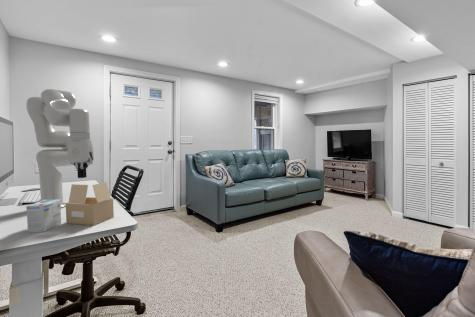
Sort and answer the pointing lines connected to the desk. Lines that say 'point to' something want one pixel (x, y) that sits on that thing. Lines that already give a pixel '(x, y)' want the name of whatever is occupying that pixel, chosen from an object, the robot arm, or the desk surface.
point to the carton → (89, 212)
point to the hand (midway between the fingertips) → (82, 177)
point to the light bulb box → (43, 215)
